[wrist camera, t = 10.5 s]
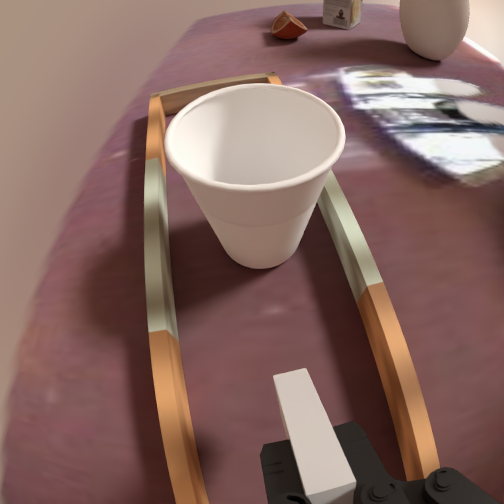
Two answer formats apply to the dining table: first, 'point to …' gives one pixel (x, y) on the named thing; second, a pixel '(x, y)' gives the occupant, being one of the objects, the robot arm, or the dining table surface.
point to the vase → (434, 26)
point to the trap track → (359, 277)
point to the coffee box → (342, 13)
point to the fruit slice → (287, 26)
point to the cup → (256, 165)
